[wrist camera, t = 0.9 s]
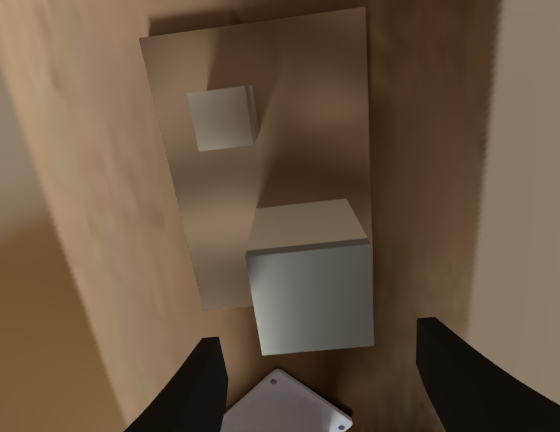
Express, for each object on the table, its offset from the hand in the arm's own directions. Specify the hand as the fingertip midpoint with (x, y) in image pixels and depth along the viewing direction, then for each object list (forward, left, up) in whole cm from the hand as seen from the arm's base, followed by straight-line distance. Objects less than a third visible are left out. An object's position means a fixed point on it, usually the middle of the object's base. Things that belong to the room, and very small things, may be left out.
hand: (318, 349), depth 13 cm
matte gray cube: (0, 0, -9) cm, 9 cm away
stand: (+2, +4, -10) cm, 11 cm away
